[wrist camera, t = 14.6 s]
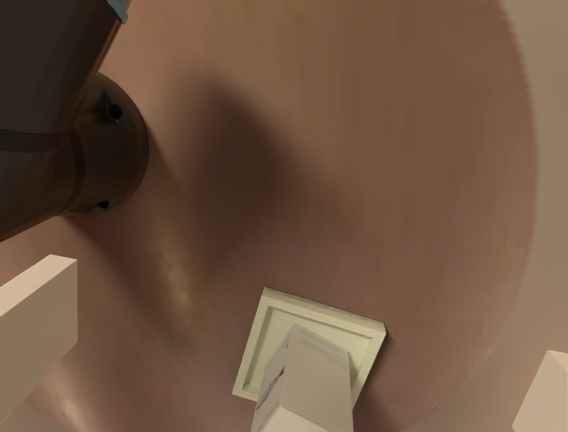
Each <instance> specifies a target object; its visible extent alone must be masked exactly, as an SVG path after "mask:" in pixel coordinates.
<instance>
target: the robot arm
mask: <svg viewBox="0 0 568 432" xmlns="http://www.w3.org/2000/svg"><path fill="white" fill-rule="evenodd" d="M131 1H132V0H0V242H2V241H5V240H7V239H9V238H11V237H13V236H15V235H17V234H19V233H21V232H23V231H25V230H27V229H29V228H31V227H33V226H35V225H37V224H40V223H42V222H44V221H46V220H48V219H50V218H52V217H54V216H88V215H94V214H98V213H101V212H104V211H106V210H108V209H110V208H112V207H114V206H116V205H118V204H119V203H121V202H123V201H124V200H126V199H127V198H128V197H129V196H130V195H131V194H132V193H133V192H134V191H135V190H136V189H137V187H138V186H139V184H140V182H141V180H142V178H143V176H144V174H145V171H146V167H147V162H148V139H147V133H146V129H145V126H144V123H143V120H142V118H141V116H140V113H139V112H138V110H137V108H136V106H135V105H134V103H133V102H132V100H131V99H130V98H129V96H128V95H127V94H126V93H125V92H124V91H123V90H122V89H121V88H120V87H119V86H118V85H117V84H116V83H115V82H114V81H112V80H111V79H109V78H108V77H106V76H105V75H103V74H101V73H99V72H98V71H99V69H100V67H101V65H102V63H103V61H104V59H105V57H106V55H107V53H108V51H109V49H110V47H111V45H112V43H113V41H114V39H115V37H116V35H117V33H118V31H119V29H120V27H121V25H122V24H124V25H125V23H126V22H127V20H128V15H127V10H128V8H129V5H130V3H131ZM76 343H77V260H76V259H71V258H66V257H61V256H55V255H49V256H47V257H46V258H44V259H43V260H41V261H40V262H38V263H37V264H35V265H34V266H32V267H30V268H29V269H27V270H26V271H24V272H23V273H21V274H20V275H18V276H17V277H15V278H14V279H12V280H11V281H9V282H7V283H6V284H4V285H3V286H1V287H0V425H1V424H2V423H3V422H4V421H5V420H6V419H7V417H8V416H9V415H10V414H11V413H12V412H13V411H14V410H15V409H16V408H17V407H18V405H19V404H20V403H21V402H22V401H23V400H24V399H25V398H26V397H27V396H28V395H29V394H30V392H31V391H32V390H33V389H34V388H35V387H36V386H37V385H38V384H39V383H40V382H41V381H42V379H43V378H44V377H45V376H46V375H47V374H48V373H49V372H50V371H51V370H52V369H53V367H54V366H55V365H56V364H57V363H58V362H59V361H60V360H61V359H62V358H63V357H64V356H65V354H66V353H67V352H68V351H69V350H70V349H71V348H72V347H73V346H74V345H75V344H76ZM512 428H513V430H514V432H568V354H567V353H562V352H556V351H551V350H548V351H547V353H546V355H545V358H544V359H543V362H542V363H541V366H540V368H539V370H538V372H537V374H536V376H535V379H534V381H533V383H532V385H531V387H530V389H529V391H528V393H527V396H526V398H525V400H524V402H523V404H522V406H521V408H520V410H519V413H518V415H517V417H516V419H515V421H514V423H513V426H512Z"/></svg>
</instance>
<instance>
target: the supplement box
mask: <svg viewBox="0 0 568 432" xmlns="http://www.w3.org/2000/svg"><path fill="white" fill-rule="evenodd" d="M348 353H349V352H348V351H346V350H345V349H343V348H341V347H339V346H337V345H336V344H334V343H332V342H330V341H328V340H326V339H324V338H323V337H321V336H319V335H317V334H315V333H313V332H311V331H310V330H308V329H306V328H304V327H302V326H300V325H298V324H296V323H294V324H293V325H292V327H291V329H290V331H289V332H288V334H287V336H286V337H285V339H284V340H283V342H282V343H281V345H280V346H279V348H278V349H277V351H276V352H275V354H274V355H273V357H272V358H271V360H270V361H269V362H268V364H267V365H266V366H265V370H264V375H263V379H262V383H261V387H260V392H259V396H258V400H257V405H256V409H255V413H254V418H253V422H252V427H251V432H354V430H353V415H352V400H351V385H350V370H349V355H348Z"/></svg>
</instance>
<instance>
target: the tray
mask: <svg viewBox="0 0 568 432" xmlns="http://www.w3.org/2000/svg"><path fill="white" fill-rule="evenodd" d="M294 323H296V324H298V325H300V326H302V327H304V328H306V329H308V330H310V331H311V332H313V333H315V334H317V335H319V336H321V337H323V338H324V339H326V340H328V341H330V342H332V343H334V344H336V345H337V346H339V347H341V348H343V349H345V350H346V351H348V352H349V353H348V355H349V370H350V385H351V400H352V410H353V408H354V406H355V403H356V401H357V399H358V396H359V394H360V392H361V390H362V387H363V385H364V383H365V380H366V378H367V376H368V374H369V371H370V369H371V367H372V365H373V362H374V360H375V358H376V355H377V353H378V351H379V349H380V346H381V344H382V342H383V339H384V337H385V335H386V331H385V326H384V323H382V322H379V321H375V320H372V319H369V318H366V317H362V316H359V315H356V314H353V313H349V312H346V311H343V310H340V309H336V308H333V307H330V306H327V305H323V304H320V303H317V302H314V301H310V300H307V299H304V298H301V297H297V296H294V295H291V294H288V293H284V292H281V291H278V290H275V289H271V288H268V287H265V286H264V289H263V293H262V296H261V299H260V302H259V306H258V309H257V312H256V316H255V319H254V322H253V326H252V329H251V332H250V335H249V339H248V342H247V345H246V349H245V352H244V355H243V358H242V362H241V365H240V368H239V372H238V375H237V378H236V382H235V385H234V388H233V391H232V394H233V395H236V396H240V397H243V398H246V399H249V400H252V401H256V402H257V400H258V396H259V392H260V387H261V383H262V379H263V375H264V370H265V366H266V365H267V364H268V362H269V361H270V360H271V358H272V357H273V355H274V354H275V352H276V351H277V349H278V348H279V346H280V345H281V343H282V342H283V340H284V339H285V337H286V336H287V334H288V332H289V331H290V329H291V327H292V325H293V324H294Z"/></svg>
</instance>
